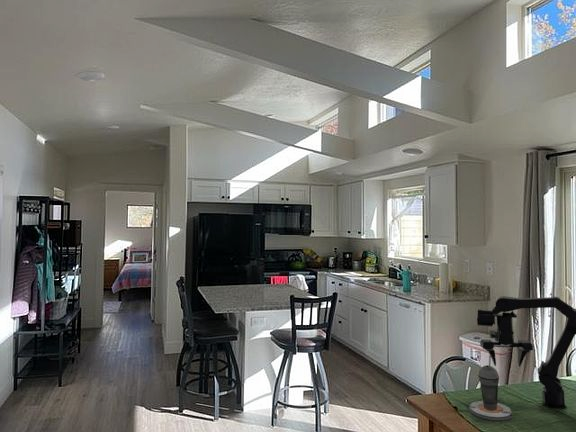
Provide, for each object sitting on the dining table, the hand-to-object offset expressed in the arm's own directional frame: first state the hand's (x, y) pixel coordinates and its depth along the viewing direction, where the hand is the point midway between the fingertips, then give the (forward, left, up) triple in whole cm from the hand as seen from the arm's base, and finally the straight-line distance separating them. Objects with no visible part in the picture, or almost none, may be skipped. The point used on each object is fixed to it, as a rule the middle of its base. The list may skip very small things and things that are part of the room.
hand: (507, 366), depth 173 cm
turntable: (+11, +16, -13) cm, 23 cm away
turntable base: (+11, +16, -13) cm, 23 cm away
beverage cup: (+11, +16, -11) cm, 23 cm away
